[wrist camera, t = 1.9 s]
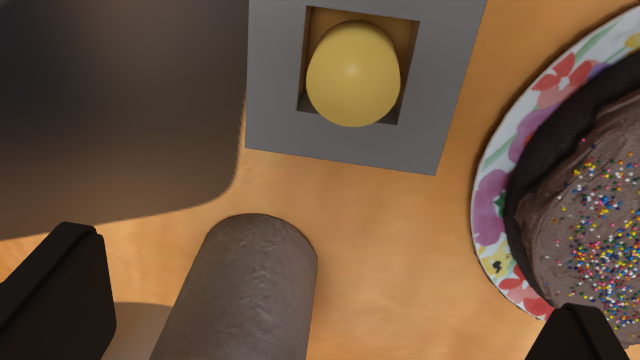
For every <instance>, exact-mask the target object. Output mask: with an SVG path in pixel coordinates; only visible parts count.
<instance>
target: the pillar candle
mask: <svg viewBox="0 0 640 360" xmlns="http://www.w3.org/2000/svg"><path fill="white" fill-rule="evenodd" d="M316 275H317V257H316V254H315V251H314V250H313V248H312V247H311V245H310V244H309V242H308V241H307V240H306V239H305V237H304V236H303V235H302V234H301V233H300V232H299V231H298V230H297V229H296V228H295V227H293V226H292V225H290V224H289V223H286V222H285V221H283V220H280V219H278V218H274V217H270V216H267V215H261V214H244V215H238V216H234V217H230V218H229V219H226V220H224V221H222V222H220V223H219V224H217V225H216V226H214V227H213V228H212V229H211V230H210V231H209V232H208V233H207V235H206V237H205V240H204V242H203V244H202V245H201V247H200V250H199V252H198V254H197V256H196V257H195V260H194V262H193V264H192V266H191V269H190V271H189V273H188V275H187V277H186V279H185V281H184V284H183V286H182V289H181V291H180V293H179V295H178V297H177V299H176V302H175V304H174V306H173V308H172V311H171V312H170V314H169V317H168V319H167V321H166V323H165V326H164V328H163V330H162V333H161V334H160V337H159V339H158V341H157V343H156V345H155V347H154V349H153V352H152V354H151V356H150V359H149V360H306V354H307V347H308V339H309V332H310V323H311V317H312V308H313V299H314V291H315V284H316Z"/></svg>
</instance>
